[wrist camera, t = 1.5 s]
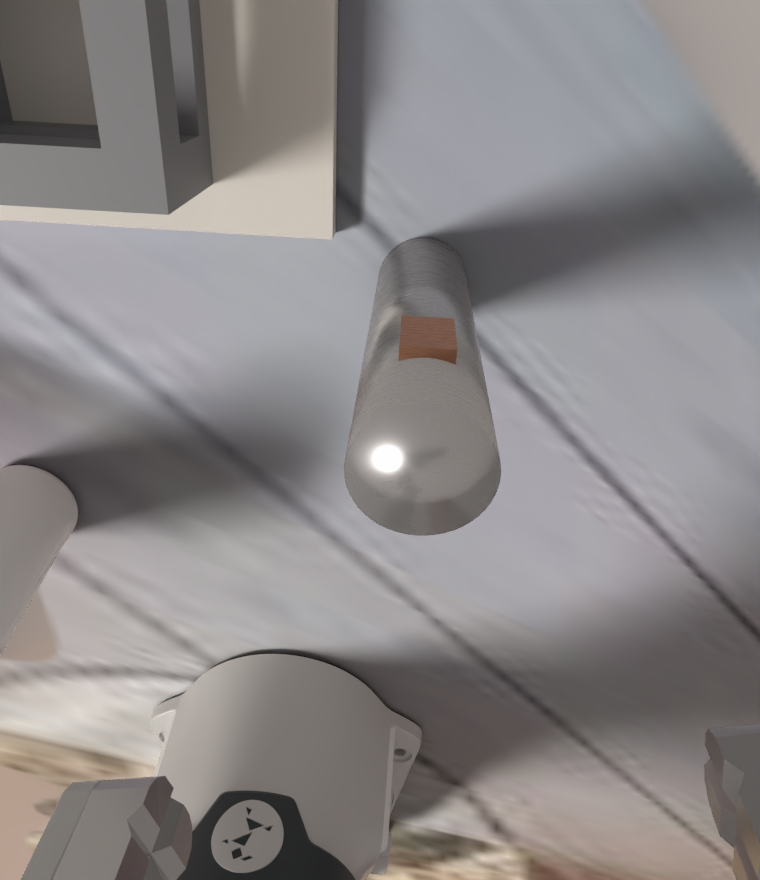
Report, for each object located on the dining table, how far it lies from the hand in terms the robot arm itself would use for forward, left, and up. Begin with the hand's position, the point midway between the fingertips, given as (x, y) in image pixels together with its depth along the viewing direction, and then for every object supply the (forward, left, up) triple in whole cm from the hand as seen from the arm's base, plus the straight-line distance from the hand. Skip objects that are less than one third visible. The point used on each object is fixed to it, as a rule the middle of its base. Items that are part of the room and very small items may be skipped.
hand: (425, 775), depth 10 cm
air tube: (0, 0, -24) cm, 24 cm away
